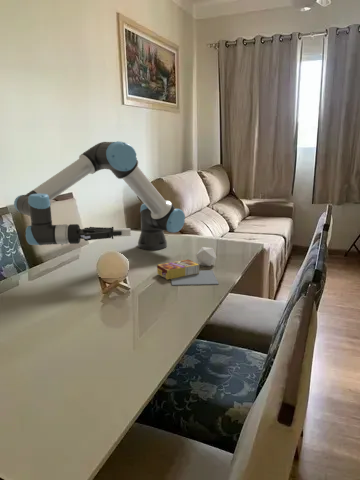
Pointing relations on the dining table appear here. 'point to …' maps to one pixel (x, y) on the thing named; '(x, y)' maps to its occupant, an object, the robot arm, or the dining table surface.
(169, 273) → the candy box
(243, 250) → the dining table surface
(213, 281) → the felt mat
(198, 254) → the die
